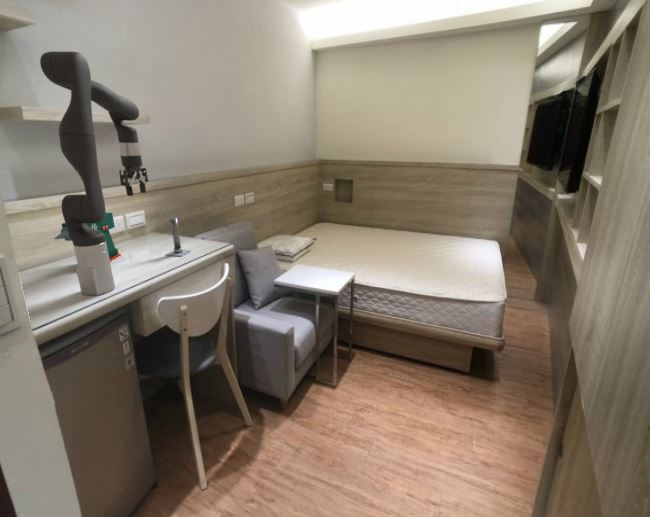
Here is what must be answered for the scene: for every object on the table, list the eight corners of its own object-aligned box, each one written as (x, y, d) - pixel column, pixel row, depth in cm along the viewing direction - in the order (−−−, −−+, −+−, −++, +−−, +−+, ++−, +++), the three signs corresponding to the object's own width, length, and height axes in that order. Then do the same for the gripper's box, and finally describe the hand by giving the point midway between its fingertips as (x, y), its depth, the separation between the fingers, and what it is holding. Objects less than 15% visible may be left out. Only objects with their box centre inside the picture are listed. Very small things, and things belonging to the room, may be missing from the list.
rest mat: (181, 256, 157) (181, 255, 157) (165, 255, 158) (165, 254, 158) (190, 251, 165) (190, 250, 164) (174, 250, 166) (174, 249, 165)
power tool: (74, 283, 127) (61, 230, 120) (55, 283, 127) (41, 230, 120) (122, 256, 157) (114, 212, 150) (106, 255, 157) (97, 212, 150)
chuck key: (177, 255, 158) (173, 220, 152) (170, 254, 158) (165, 219, 153) (185, 250, 164) (181, 216, 159) (178, 249, 165) (174, 216, 160)
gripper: (133, 153, 149) (139, 191, 154) (109, 154, 136) (117, 196, 141) (149, 153, 148) (155, 192, 153) (127, 155, 135) (134, 197, 140)
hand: (137, 194), depth 147 cm, fingers open, 8 cm apart
